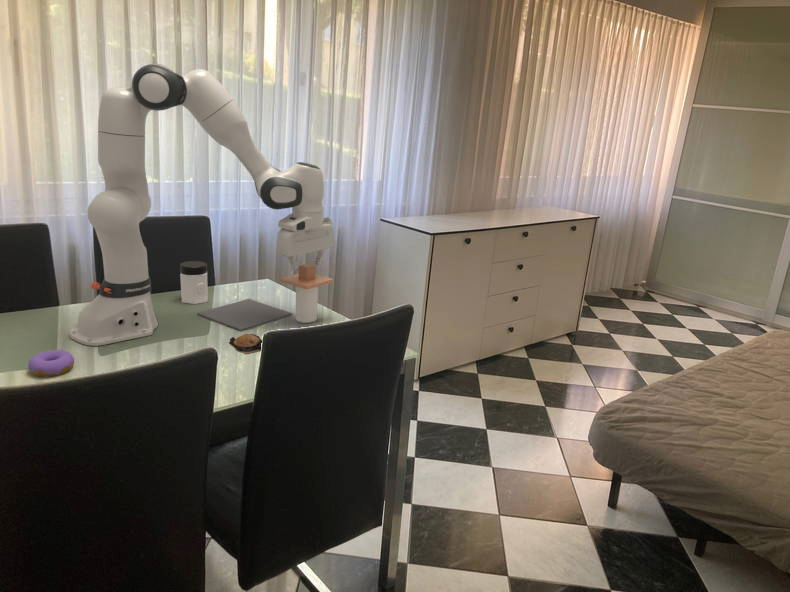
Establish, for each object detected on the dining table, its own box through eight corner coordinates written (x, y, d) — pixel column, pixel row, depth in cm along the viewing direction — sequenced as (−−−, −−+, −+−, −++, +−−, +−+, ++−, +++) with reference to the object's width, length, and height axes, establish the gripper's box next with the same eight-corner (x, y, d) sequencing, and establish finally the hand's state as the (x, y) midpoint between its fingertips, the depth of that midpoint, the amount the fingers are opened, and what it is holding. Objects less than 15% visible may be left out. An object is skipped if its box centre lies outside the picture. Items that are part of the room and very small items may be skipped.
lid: (307, 289, 174) (307, 272, 173) (280, 281, 180) (280, 265, 179) (333, 282, 183) (333, 266, 181) (306, 274, 189) (306, 259, 187)
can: (306, 325, 181) (306, 286, 177) (291, 319, 184) (291, 281, 181) (321, 320, 186) (322, 282, 182) (306, 314, 189) (306, 277, 186)
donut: (27, 364, 145) (29, 344, 144) (70, 365, 150) (73, 346, 149) (27, 380, 137) (30, 360, 136) (74, 381, 142) (76, 362, 141)
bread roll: (272, 350, 163) (272, 337, 162) (243, 357, 158) (243, 344, 156) (253, 338, 171) (253, 325, 169) (225, 343, 165) (224, 331, 164)
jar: (187, 306, 191) (186, 268, 188) (176, 299, 197) (174, 263, 193) (214, 300, 197) (212, 264, 194) (202, 294, 203) (200, 259, 199)
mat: (240, 331, 173) (240, 329, 173) (197, 314, 184) (197, 312, 184) (292, 315, 188) (292, 313, 188) (249, 300, 200) (249, 298, 199)
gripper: (324, 215, 186) (322, 259, 190) (273, 222, 170) (273, 270, 174) (339, 218, 182) (338, 263, 186) (289, 226, 166) (288, 275, 170)
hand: (306, 266), depth 180 cm, fingers open, 8 cm apart
